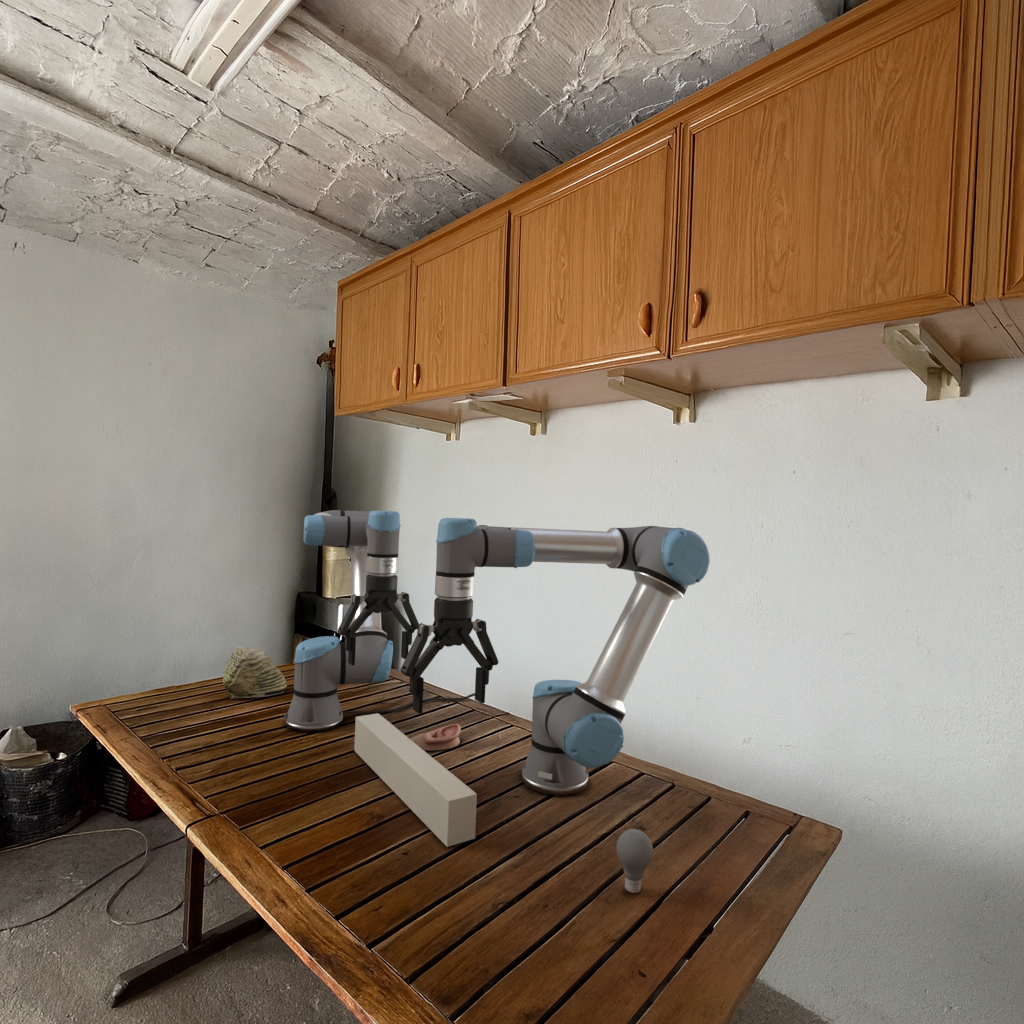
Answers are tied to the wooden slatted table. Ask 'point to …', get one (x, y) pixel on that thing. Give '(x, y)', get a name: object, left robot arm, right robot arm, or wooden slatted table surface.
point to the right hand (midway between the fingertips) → (449, 706)
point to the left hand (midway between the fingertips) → (378, 661)
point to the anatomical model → (439, 738)
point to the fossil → (252, 674)
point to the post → (417, 779)
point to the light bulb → (634, 857)
